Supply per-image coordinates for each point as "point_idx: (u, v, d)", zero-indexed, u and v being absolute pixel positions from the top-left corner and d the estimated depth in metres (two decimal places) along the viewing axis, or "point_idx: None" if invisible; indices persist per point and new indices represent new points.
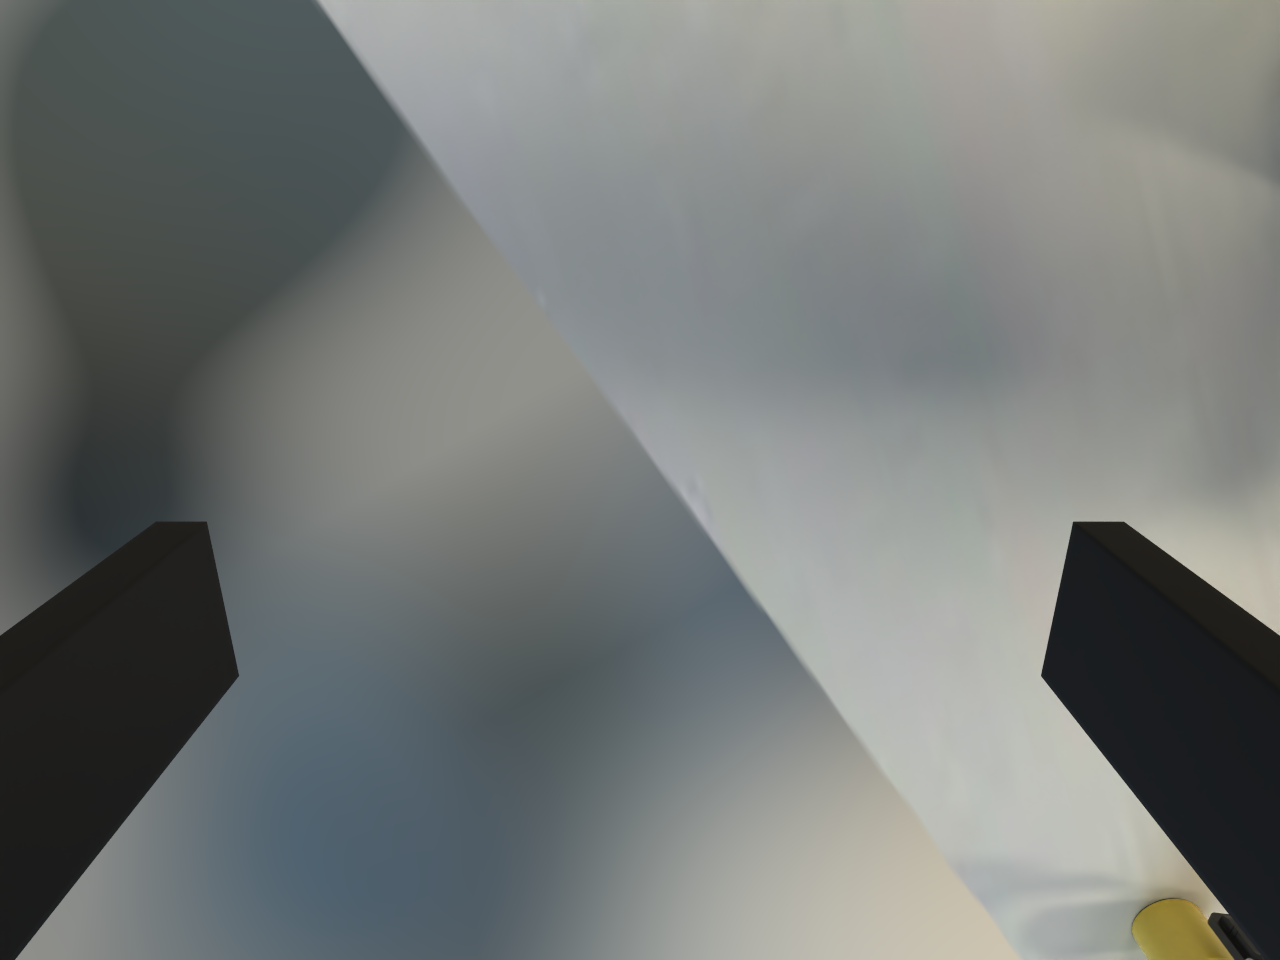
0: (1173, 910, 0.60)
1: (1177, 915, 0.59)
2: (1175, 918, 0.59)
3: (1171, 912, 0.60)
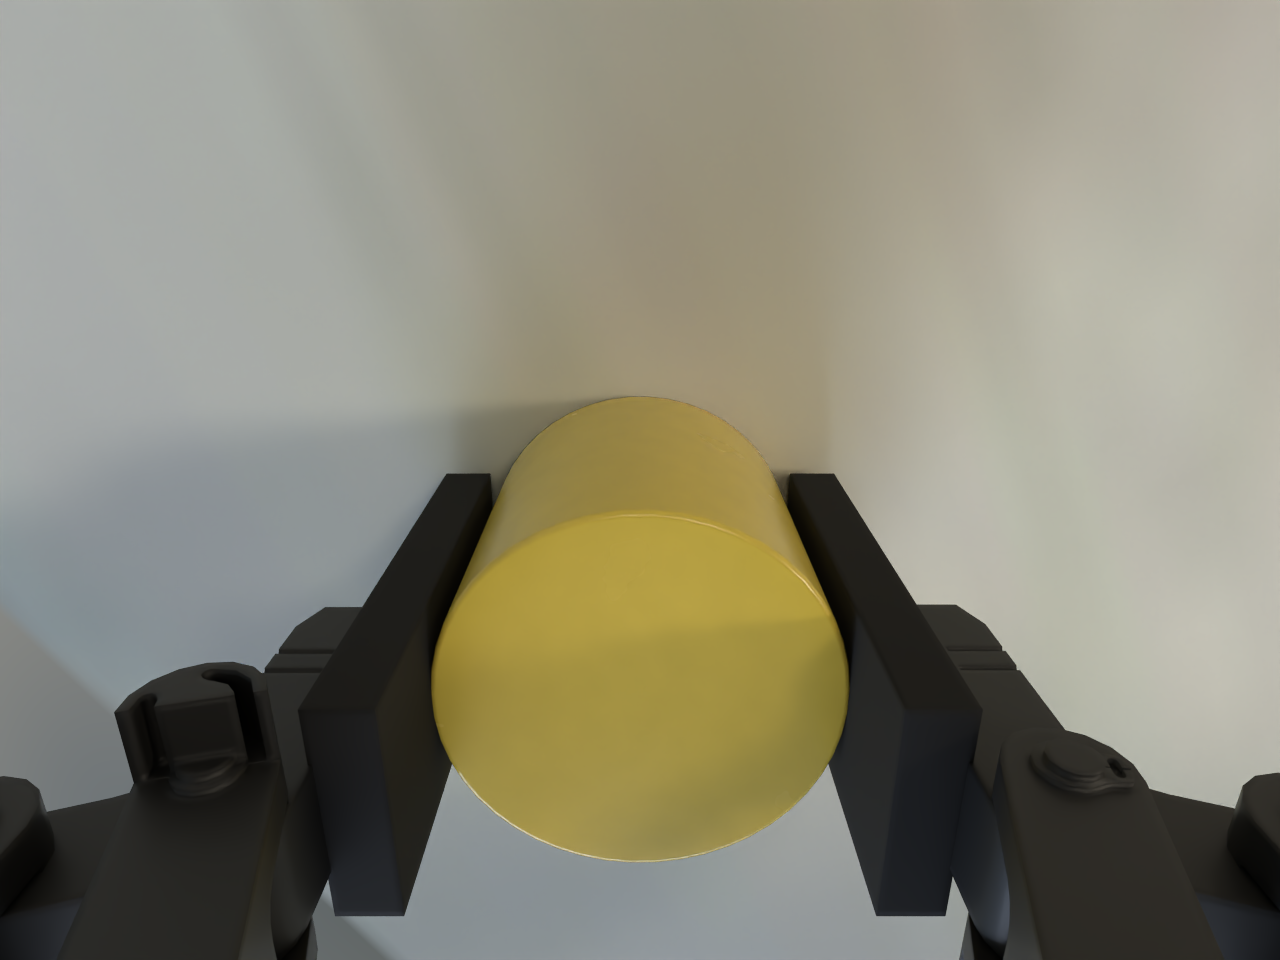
0: (596, 417, 0.13)
1: (596, 425, 0.12)
2: (579, 434, 0.12)
3: (583, 423, 0.13)
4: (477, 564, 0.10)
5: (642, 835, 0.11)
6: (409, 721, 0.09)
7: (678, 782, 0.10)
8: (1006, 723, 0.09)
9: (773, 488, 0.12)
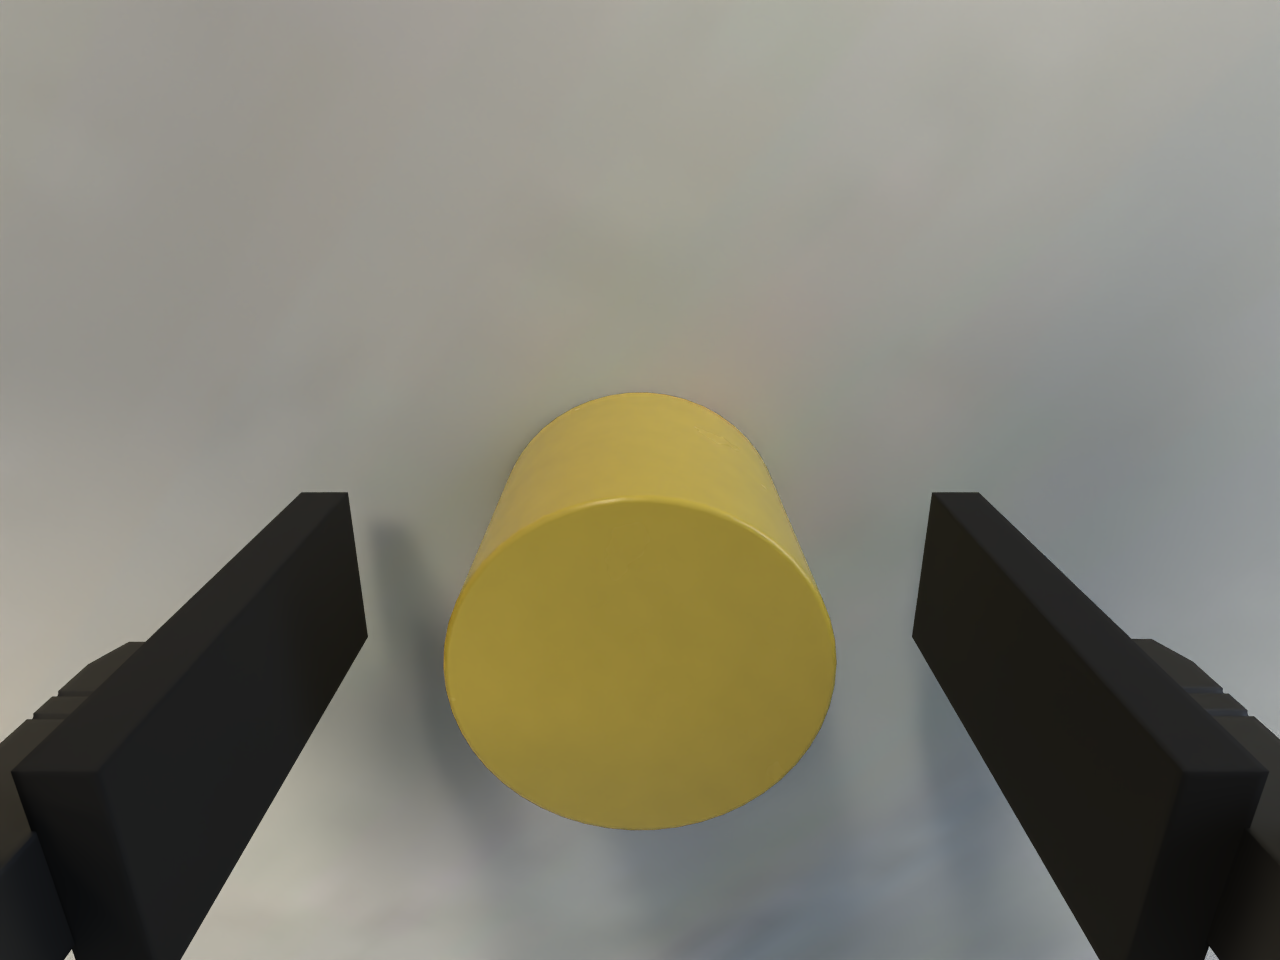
0: (598, 412, 0.13)
1: (599, 419, 0.13)
2: (582, 427, 0.13)
3: (585, 417, 0.13)
4: (487, 547, 0.11)
5: (642, 804, 0.11)
6: (172, 777, 0.08)
7: (675, 753, 0.11)
8: (1265, 780, 0.08)
9: (766, 479, 0.13)
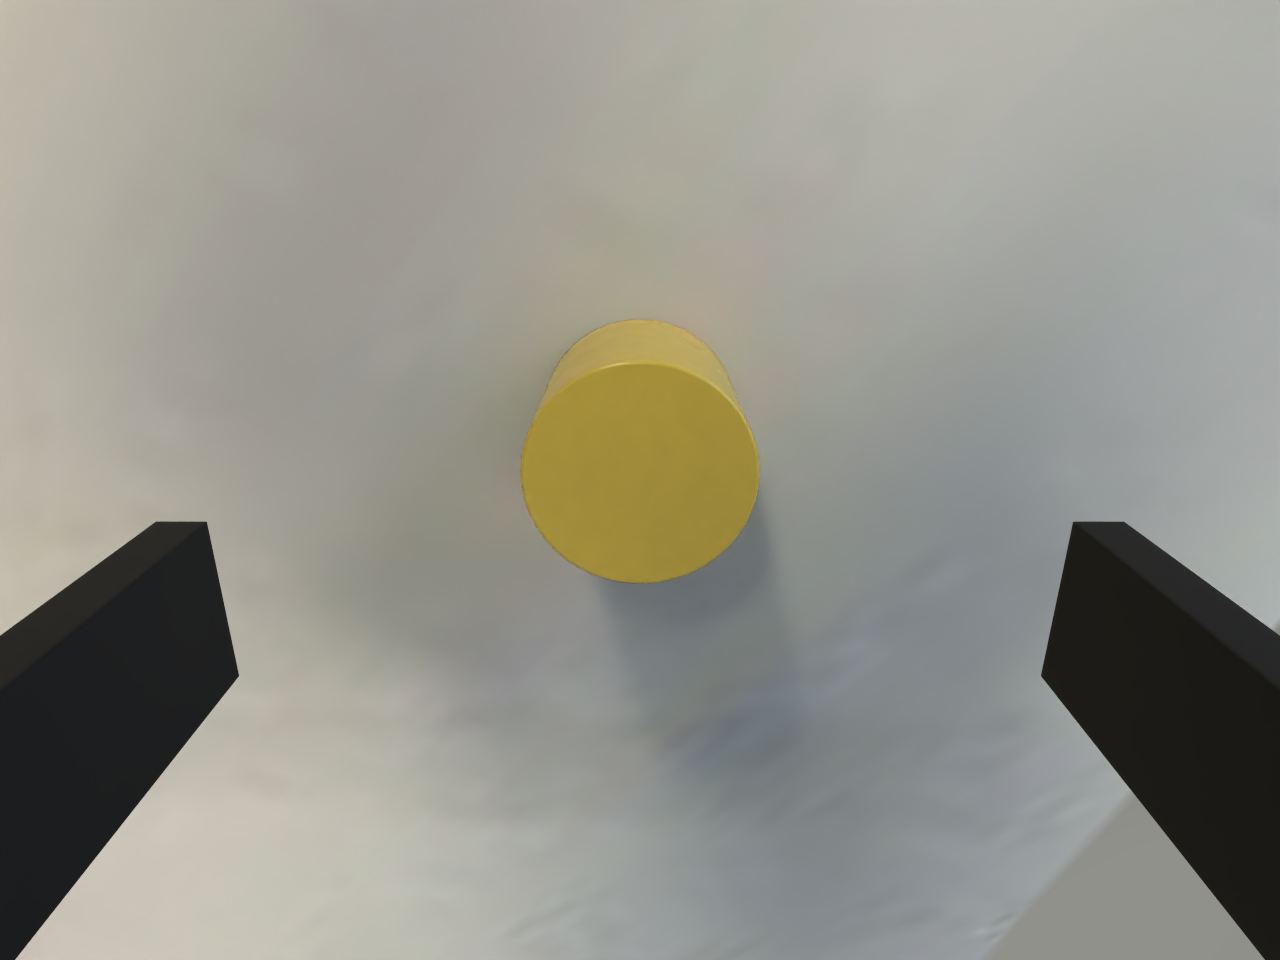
0: (612, 329, 0.20)
1: (613, 332, 0.20)
2: (602, 337, 0.20)
3: (604, 332, 0.20)
4: (547, 397, 0.17)
5: (641, 564, 0.18)
6: None
7: (662, 528, 0.18)
8: None
9: (722, 371, 0.20)
